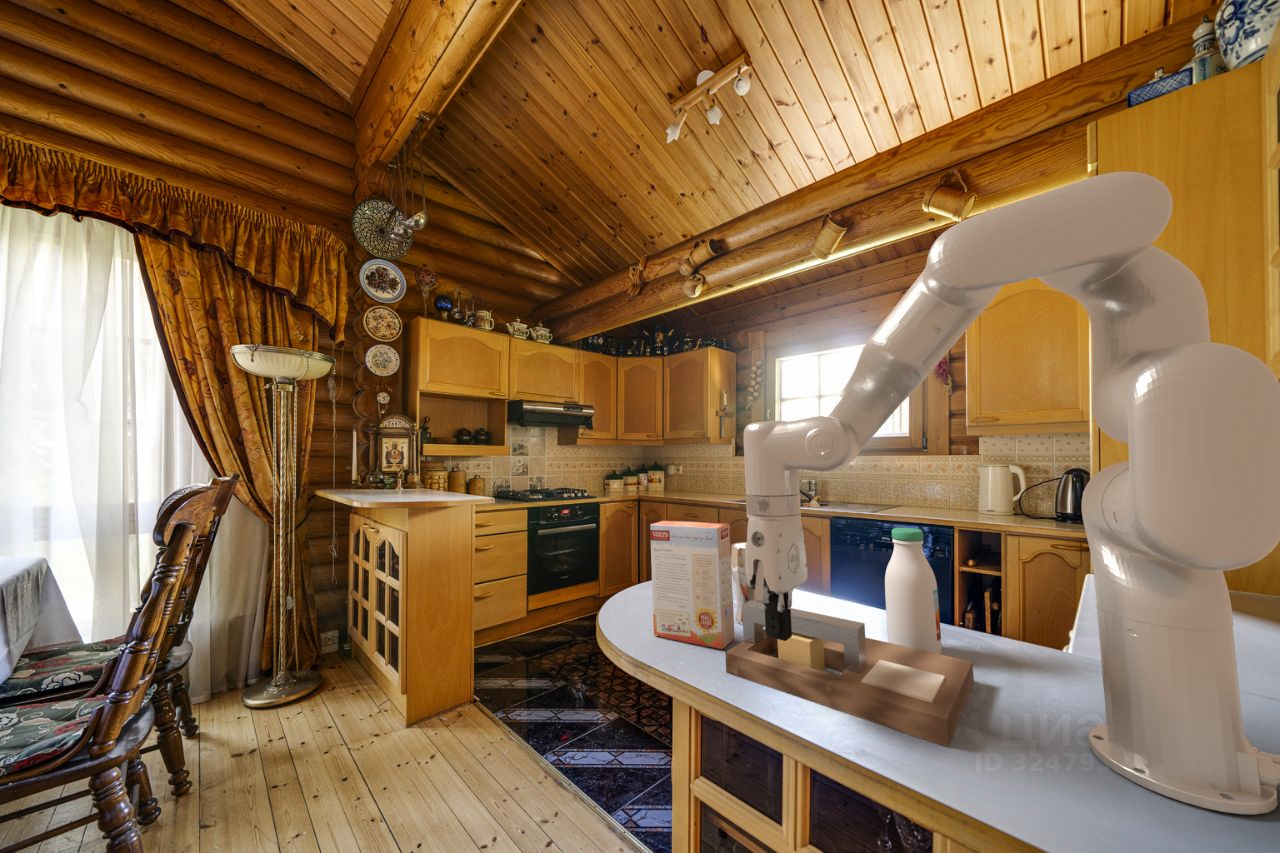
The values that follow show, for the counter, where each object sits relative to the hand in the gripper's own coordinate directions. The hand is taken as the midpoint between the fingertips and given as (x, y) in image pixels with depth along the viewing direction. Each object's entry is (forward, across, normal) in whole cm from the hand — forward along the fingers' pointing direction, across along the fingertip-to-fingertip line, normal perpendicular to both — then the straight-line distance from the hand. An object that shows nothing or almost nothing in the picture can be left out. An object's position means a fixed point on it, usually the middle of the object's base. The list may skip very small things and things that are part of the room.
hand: (778, 636), depth 67 cm
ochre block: (+8, +7, 0) cm, 10 cm away
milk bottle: (+8, +26, -11) cm, 29 cm away
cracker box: (+8, +8, +21) cm, 24 cm away
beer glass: (+8, +22, +17) cm, 29 cm away
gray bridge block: (+4, +7, 0) cm, 8 cm away
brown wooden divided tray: (+7, +9, -6) cm, 13 cm away
